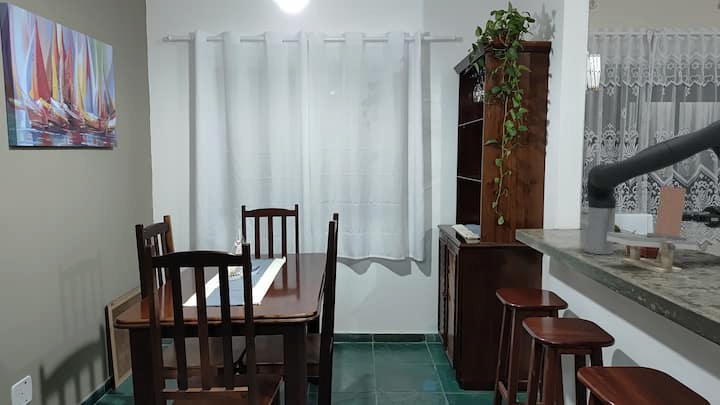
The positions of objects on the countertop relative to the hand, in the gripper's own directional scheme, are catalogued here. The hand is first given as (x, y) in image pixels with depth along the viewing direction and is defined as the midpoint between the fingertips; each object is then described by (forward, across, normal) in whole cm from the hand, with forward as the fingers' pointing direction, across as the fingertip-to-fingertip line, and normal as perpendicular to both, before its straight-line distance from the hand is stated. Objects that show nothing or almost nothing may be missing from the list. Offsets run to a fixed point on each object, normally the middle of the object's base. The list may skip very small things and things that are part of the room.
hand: (679, 217), depth 164 cm
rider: (+4, 0, +8) cm, 9 cm away
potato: (-10, -45, +16) cm, 49 cm away
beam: (+10, 0, +8) cm, 13 cm away
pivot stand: (+10, 0, +16) cm, 19 cm away
